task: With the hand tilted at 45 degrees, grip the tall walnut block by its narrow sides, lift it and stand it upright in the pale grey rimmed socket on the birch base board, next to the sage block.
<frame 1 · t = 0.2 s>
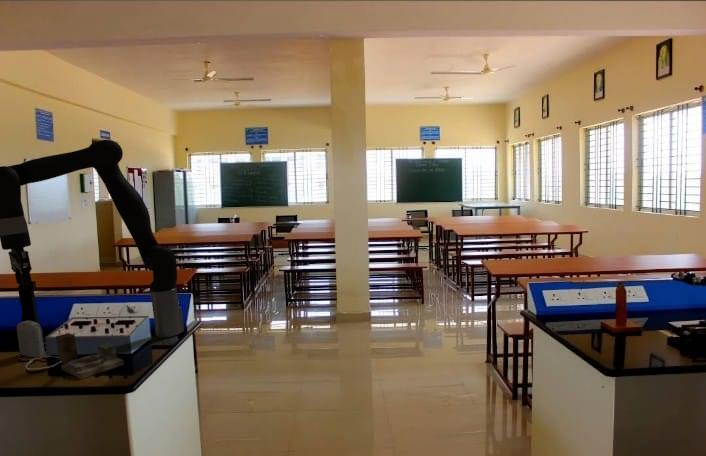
hand: (24, 284, 156), 29 cm above the table, tool pointing down, fingers open, 8 cm apart
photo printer: (32, 355, 181), on the table
walnut block: (68, 361, 169), on the table
portable radio: (33, 338, 203), on the table
base board: (92, 367, 161), on the table
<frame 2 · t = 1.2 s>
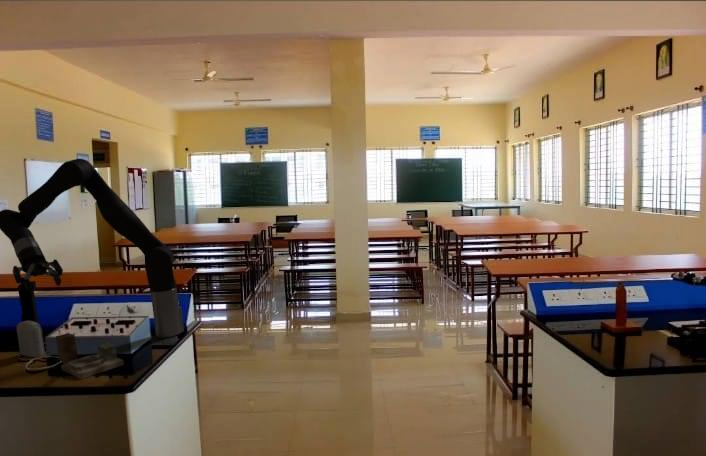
hand: (45, 287, 174), 25 cm above the table, tool tilted 45°, fingers open, 8 cm apart
nothing on the table moved.
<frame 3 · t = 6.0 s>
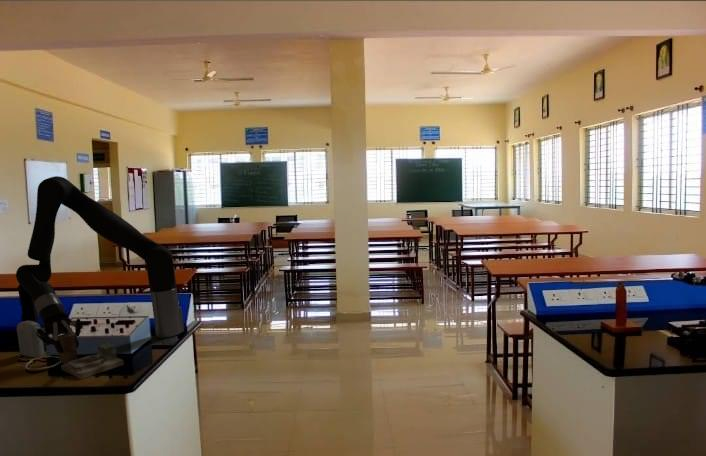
hand: (69, 349, 167), 5 cm above the table, tool tilted 45°, fingers closed on walnut block, 4 cm apart
walnut block: (68, 361, 169), on the table, touching gripper
everything else where it was.
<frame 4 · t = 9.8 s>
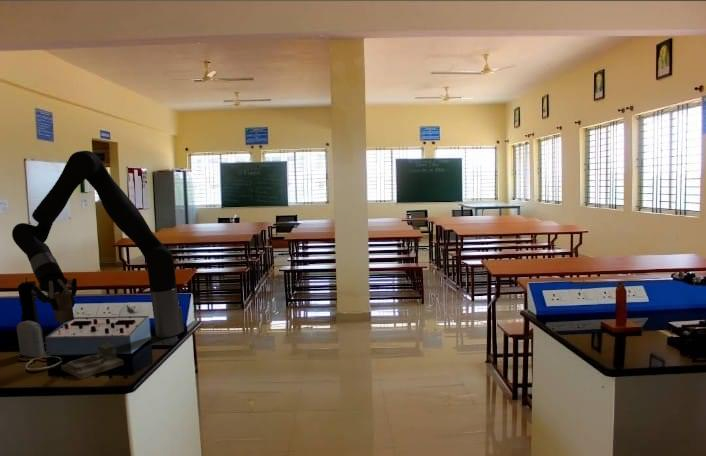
hand: (65, 307, 165), 19 cm above the table, tool tilted 45°, fingers closed on walnut block, 4 cm apart
walnut block: (64, 320, 167), point 14 cm above the table, touching gripper
everything else where it was.
when the fingers open (7 cm above the table, at t = 13.8 s): walnut block drops 1 cm, resting on base board.
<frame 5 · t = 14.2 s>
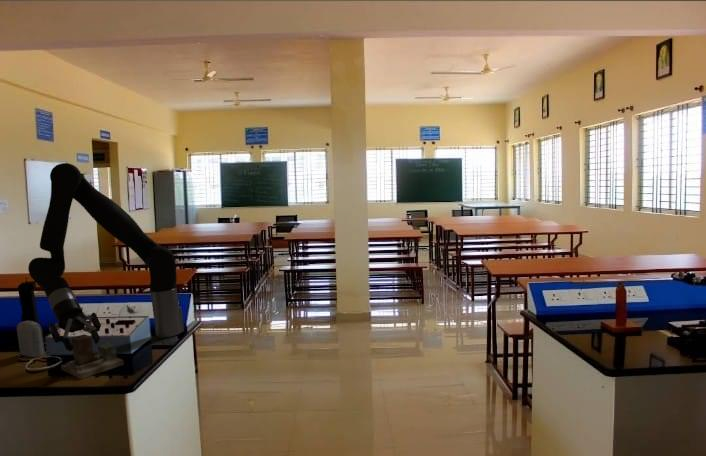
hand: (84, 345, 158), 8 cm above the table, tool tilted 45°, fingers open, 7 cm apart
walnut block: (85, 365, 160), point 1 cm above the table, touching base board
everything else where it was.
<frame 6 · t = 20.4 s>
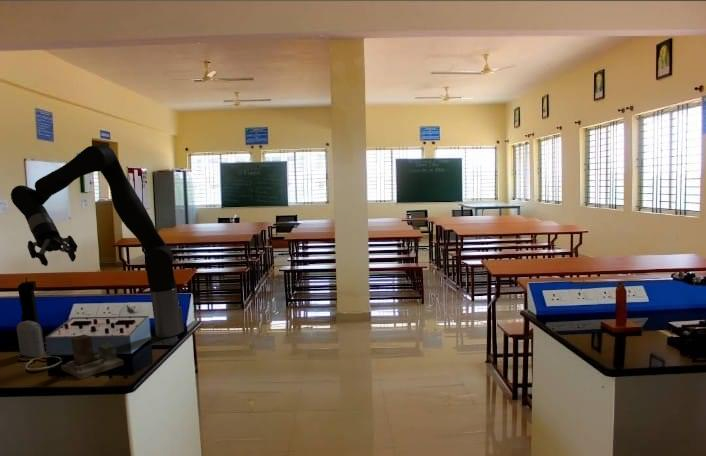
hand: (60, 262, 173), 33 cm above the table, tool tilted 45°, fingers open, 8 cm apart
nothing on the table moved.
at the end: walnut block 0.1 cm from the target spot on the base board, point 1.5 cm above the base board's base; walnut block tilted 0°; the gripper is holding nothing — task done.
